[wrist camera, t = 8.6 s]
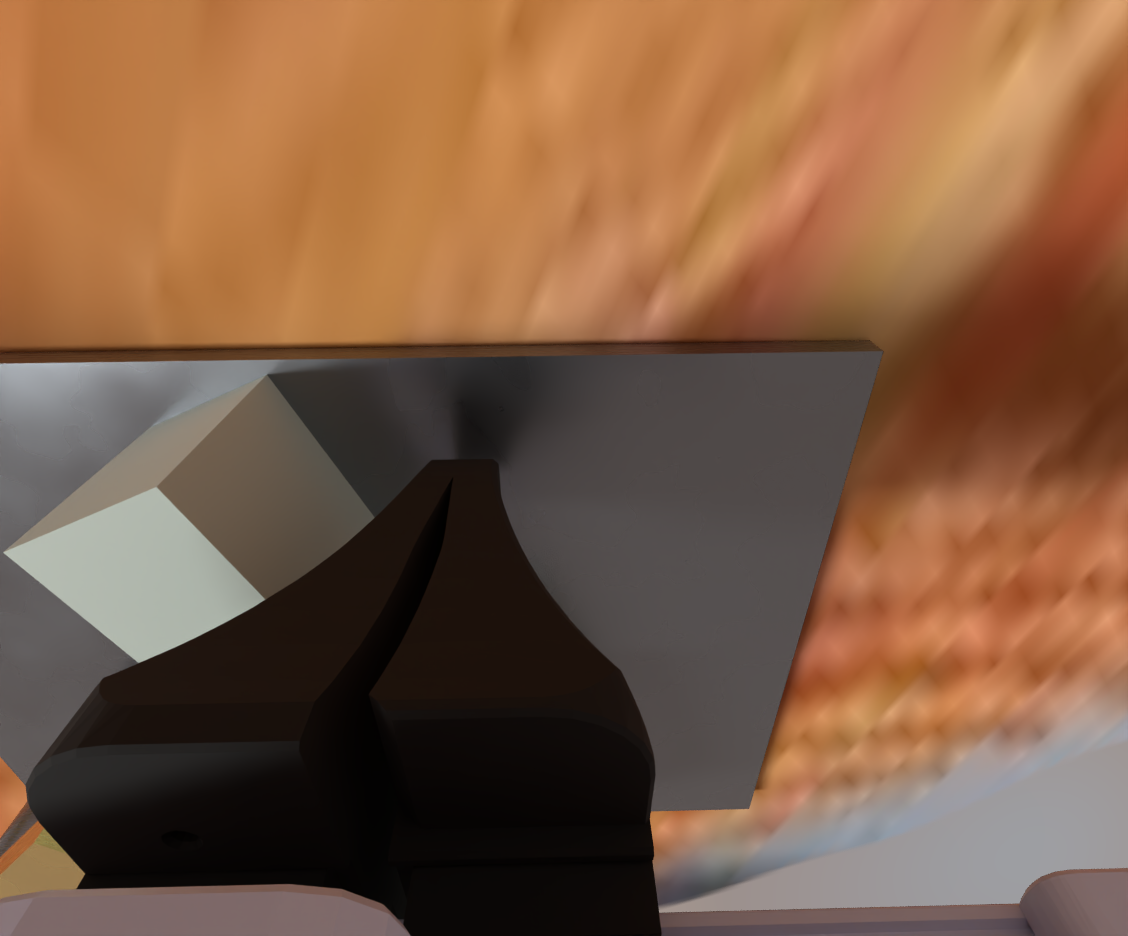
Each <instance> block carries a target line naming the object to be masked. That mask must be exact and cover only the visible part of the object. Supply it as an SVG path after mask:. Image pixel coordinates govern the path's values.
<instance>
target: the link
mask: <svg viewBox="0 0 1128 936" xmlns="http://www.w3.org/2000/svg"><path fill="white" fill-rule="evenodd" d="M374 518H375V517H374V516H373V515H372V513H371V512H370V511H369V509H368V508H367V507H366V505H365V504H364V503H363V501H362V500H361V499H360V497H359V496H358V495H357V493H356V492H355V491H354V489H353V488H352V487H351V485H350V484H349V483H348V481H347V480H346V479H345V477H344V476H343V475H342V473H341V472H340V471H339V470H338V468H337V467H336V466H335V464H334V463H333V462H332V460H331V459H330V458H329V456H328V455H327V454H326V452H325V451H324V450H323V448H322V447H321V446H320V444H319V443H318V442H317V440H316V439H315V438H314V436H313V435H312V434H311V432H310V431H309V430H308V428H307V427H306V426H305V424H304V423H303V422H302V420H301V419H300V418H299V416H298V415H297V414H296V413H295V411H294V410H293V409H292V407H291V406H290V405H289V403H288V402H287V401H286V399H285V398H284V397H283V395H282V394H281V393H280V391H279V390H278V389H277V387H276V386H275V385H274V383H273V382H272V381H271V379H270V378H269V377H268V375H265V376H263V377H261V378H258V379H256V380H254V381H252V382H250V383H247V384H245V385H243V386H241V387H239V388H236V389H234V390H232V391H230V392H227V393H225V394H223V395H221V396H219V397H216V398H214V399H212V400H210V401H208V402H205V403H203V404H201V405H199V406H197V407H194V408H192V409H190V410H188V411H186V412H183V413H181V414H179V415H177V416H175V417H172V418H170V419H168V420H166V421H163V422H161V423H159V424H157V425H155V426H152V427H150V428H149V429H148V430H146V431H145V432H144V433H143V434H142V435H141V436H139V437H138V438H137V439H136V440H135V441H133V442H132V443H131V444H130V445H129V446H128V447H126V448H125V449H124V450H123V451H122V452H121V453H119V454H118V455H117V456H116V457H115V458H113V459H112V460H111V461H110V462H109V463H108V464H106V465H105V466H104V467H103V468H102V469H101V470H99V471H98V472H97V473H96V474H95V475H93V476H92V477H91V478H90V479H89V480H88V481H86V482H85V483H84V484H83V485H82V486H81V487H79V488H78V489H77V490H76V491H75V492H73V493H72V494H71V495H70V496H69V497H68V498H66V499H65V500H64V501H63V502H62V503H61V504H59V505H58V506H57V507H56V508H55V509H53V510H52V511H51V512H50V513H49V514H48V515H46V516H45V517H44V518H43V519H42V520H41V521H39V522H38V523H37V524H36V525H35V526H33V527H32V528H31V529H30V530H29V531H28V532H26V533H25V534H24V535H23V536H22V537H21V538H19V539H18V540H17V541H16V542H15V543H13V544H12V545H11V546H10V547H9V548H8V549H6V550H5V551H4V552H3V553H4V554H6V555H7V556H8V557H9V558H10V559H12V560H13V561H14V562H15V563H17V564H18V565H19V566H20V567H21V568H23V569H24V570H25V571H26V572H28V573H29V574H30V575H31V576H33V577H34V578H35V579H36V580H37V581H39V582H40V583H41V584H42V585H44V586H45V587H46V588H47V589H48V590H50V591H51V592H52V593H53V594H55V595H56V596H57V597H58V598H60V599H61V600H62V601H63V602H64V603H66V604H67V605H68V606H69V607H71V608H72V609H73V610H74V611H75V612H77V613H78V614H79V615H80V616H82V617H83V618H84V619H85V620H87V621H88V622H89V623H90V624H91V625H93V626H94V627H95V628H96V629H98V630H99V631H100V632H101V633H102V634H104V635H105V636H106V637H107V638H109V639H110V640H111V641H112V642H114V643H115V644H116V645H117V646H118V647H120V648H121V649H122V650H123V651H125V652H126V653H127V654H128V655H129V656H131V657H132V658H133V659H134V660H136V661H137V662H138V663H140V662H142V661H145V660H147V659H149V658H152V657H154V656H156V655H159V654H161V653H163V652H165V651H168V650H170V649H172V648H175V647H177V646H179V645H181V644H183V643H185V642H187V641H189V640H192V639H194V638H196V637H198V636H200V635H202V634H204V633H206V632H208V631H210V630H212V629H214V628H216V627H217V626H219V625H221V624H223V623H225V622H227V621H229V620H231V619H233V618H234V617H236V616H238V615H240V614H242V613H244V612H245V611H247V610H249V609H251V608H252V607H254V606H256V605H257V604H259V603H261V602H262V601H264V600H265V599H267V598H269V597H270V596H272V595H274V594H275V593H277V592H278V591H280V590H282V589H283V588H285V587H286V586H288V585H290V584H291V583H293V582H294V581H296V580H298V579H299V578H301V577H302V576H303V575H305V574H306V573H308V572H309V571H310V570H312V569H313V568H315V567H316V566H317V565H319V564H320V563H321V562H323V561H324V560H326V559H327V558H328V557H330V556H331V555H332V554H333V553H335V552H336V551H337V550H339V549H340V548H341V547H342V546H343V545H345V544H346V543H347V542H348V541H349V540H350V539H352V538H353V537H354V536H355V535H356V534H357V533H358V532H359V531H361V530H362V529H363V528H364V527H365V526H366V525H367V524H368V523H370V522H371V521H372V520H373V519H374Z"/></svg>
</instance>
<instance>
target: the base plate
mask: <svg viewBox="0 0 1128 936" xmlns="http://www.w3.org/2000/svg"><path fill="white" fill-rule="evenodd" d="M882 354H883V350H881V349H880V348H879V347H877V346H876V345H875V344H874V343H872V342H871V341H870V340H869V341H798V342H726V343H654V344H582V345H510V346H438V347H366V348H294V349H222V350H150V351H78V352H6V353H0V757H1V758H2V759H3V760H4V761H5V763H6V764H7V765H8V766H9V767H10V768H11V769H12V771H13V772H14V773H15V774H16V775H17V776H18V777H19V779H20V780H21V781H22V782H23V783H24V784H25V785H26V782H27V780H28V778H29V776H30V774H31V772H32V770H33V769H34V767H35V766H36V765H37V763H38V762H39V761H40V759H41V758H42V757H43V756H44V754H45V753H46V752H47V750H48V749H49V748H50V746H51V745H52V744H53V742H54V741H55V740H56V738H57V737H58V736H59V734H60V733H61V732H62V731H63V729H64V728H65V727H66V725H67V724H68V723H69V721H70V720H71V719H72V717H73V716H74V715H75V713H76V712H77V711H78V709H79V708H80V707H81V706H82V704H83V703H84V702H85V700H86V699H87V698H88V696H89V695H90V694H91V692H92V691H93V690H94V688H95V687H96V686H97V685H98V684H99V682H100V681H101V680H102V679H103V678H104V677H107V676H109V675H112V674H114V673H117V672H119V671H122V670H124V669H126V668H129V667H131V666H133V665H136V664H138V662H137V661H136V660H134V659H133V658H132V657H131V656H129V655H128V654H127V653H126V652H125V651H123V650H122V649H121V648H120V647H118V646H117V645H116V644H115V643H114V642H112V641H111V640H110V639H109V638H107V637H106V636H105V635H104V634H102V633H101V632H100V631H99V630H98V629H96V628H95V627H94V626H93V625H91V624H90V623H89V622H88V621H87V620H85V619H84V618H83V617H82V616H80V615H79V614H78V613H77V612H75V611H74V610H73V609H72V608H71V607H69V606H68V605H67V604H66V603H64V602H63V601H62V600H61V599H60V598H58V597H57V596H56V595H55V594H53V593H52V592H51V591H50V590H48V589H47V588H46V587H45V586H44V585H42V584H41V583H40V582H39V581H37V580H36V579H35V578H34V577H33V576H31V575H30V574H29V573H28V572H26V571H25V570H24V569H23V568H21V567H20V566H19V565H18V564H17V563H15V562H14V561H13V560H12V559H10V558H9V557H8V556H7V555H6V554H4V553H3V552H4V551H5V550H6V549H8V548H9V547H10V546H11V545H12V544H13V543H15V542H16V541H17V540H18V539H19V538H21V537H22V536H23V535H24V534H25V533H26V532H28V531H29V530H30V529H31V528H32V527H33V526H35V525H36V524H37V523H38V522H39V521H41V520H42V519H43V518H44V517H45V516H46V515H48V514H49V513H50V512H51V511H52V510H53V509H55V508H56V507H57V506H58V505H59V504H61V503H62V502H63V501H64V500H65V499H66V498H68V497H69V496H70V495H71V494H72V493H73V492H75V491H76V490H77V489H78V488H79V487H81V486H82V485H83V484H84V483H85V482H86V481H88V480H89V479H90V478H91V477H92V476H93V475H95V474H96V473H97V472H98V471H99V470H101V469H102V468H103V467H104V466H105V465H106V464H108V463H109V462H110V461H111V460H112V459H113V458H115V457H116V456H117V455H118V454H119V453H121V452H122V451H123V450H124V449H125V448H126V447H128V446H129V445H130V444H131V443H132V442H133V441H135V440H136V439H137V438H138V437H139V436H141V435H142V434H143V433H144V432H145V431H146V430H148V429H149V428H150V427H152V426H155V425H157V424H159V423H161V422H163V421H166V420H168V419H170V418H172V417H175V416H177V415H179V414H181V413H183V412H186V411H188V410H190V409H192V408H194V407H197V406H199V405H201V404H203V403H205V402H208V401H210V400H212V399H214V398H216V397H219V396H221V395H223V394H225V393H227V392H230V391H232V390H234V389H236V388H239V387H241V386H243V385H245V384H247V383H250V382H252V381H254V380H256V379H258V378H261V377H263V376H265V375H268V377H269V378H270V379H271V381H272V382H273V383H274V385H275V386H276V387H277V389H278V390H279V391H280V393H281V394H282V395H283V397H284V398H285V399H286V401H287V402H288V403H289V405H290V406H291V407H292V409H293V410H294V411H295V413H296V414H297V415H298V416H299V418H300V419H301V420H302V422H303V423H304V424H305V426H306V427H307V428H308V430H309V431H310V432H311V434H312V435H313V436H314V438H315V439H316V440H317V442H318V443H319V444H320V446H321V447H322V448H323V450H324V451H325V452H326V454H327V455H328V456H329V458H330V459H331V460H332V462H333V463H334V464H335V466H336V467H337V468H338V470H339V471H340V472H341V473H342V475H343V476H344V477H345V479H346V480H347V481H348V483H349V484H350V485H351V487H352V488H353V489H354V491H355V492H356V493H357V495H358V496H359V497H360V499H361V500H362V501H363V503H364V504H365V505H366V507H367V508H368V509H369V511H370V512H371V513H372V515H373V516H374V517H376V516H377V515H378V514H379V513H380V512H381V511H382V510H383V509H384V508H385V507H386V506H387V505H388V504H389V503H390V502H391V501H392V500H393V499H394V498H395V497H396V496H397V495H398V494H399V493H400V492H401V491H402V490H403V489H404V488H405V487H406V485H407V484H408V483H409V482H410V481H411V480H412V479H413V478H414V477H415V476H416V475H417V474H418V473H419V472H420V471H421V470H422V469H423V468H424V467H425V466H426V465H427V464H428V463H429V462H430V461H431V460H449V459H494V460H495V461H496V462H497V463H498V464H499V473H500V486H501V497H502V501H503V504H504V507H505V510H506V512H507V515H508V518H509V521H510V523H511V526H512V528H513V531H514V533H515V535H516V537H517V539H518V541H519V543H520V546H521V547H522V549H523V551H524V553H525V555H526V557H527V559H528V561H529V562H530V564H531V566H532V567H533V569H534V571H535V572H536V574H537V576H538V577H539V579H540V580H541V582H542V583H543V585H544V586H545V588H546V589H547V591H548V592H549V593H550V595H551V596H552V597H553V599H554V600H555V601H556V602H557V604H558V605H559V606H560V607H561V609H562V610H563V611H564V612H565V614H566V615H567V616H568V617H569V619H570V620H571V621H572V622H573V624H574V625H575V626H576V627H577V628H578V629H579V630H580V631H581V632H582V633H583V634H584V635H585V637H586V638H587V639H588V640H589V641H590V642H591V643H592V644H593V645H594V646H595V647H596V648H597V649H598V650H599V651H600V652H601V653H602V654H603V655H604V656H606V657H607V658H608V659H609V660H610V661H611V662H612V663H613V664H614V665H615V666H617V667H618V668H619V669H620V670H621V671H622V674H623V676H624V678H625V680H626V682H627V684H628V686H629V688H630V690H631V692H632V695H633V697H634V699H635V701H636V704H637V706H638V708H639V711H640V713H641V716H642V718H643V721H644V724H645V726H646V729H647V732H648V736H649V739H650V742H651V746H652V750H653V754H654V759H655V772H656V776H655V783H654V791H653V798H652V806H651V811H680V810H721V809H749V807H750V803H751V800H752V797H753V793H754V790H755V786H756V783H757V780H758V776H759V773H760V769H761V766H762V763H763V759H764V756H765V752H766V749H767V746H768V742H769V739H770V735H771V732H772V728H773V725H774V722H775V718H776V715H777V711H778V708H779V705H780V701H781V698H782V694H783V691H784V688H785V684H786V681H787V677H788V674H789V671H790V667H791V664H792V660H793V657H794V654H795V650H796V647H797V643H798V640H799V637H800V633H801V630H802V626H803V623H804V620H805V616H806V613H807V609H808V606H809V603H810V599H811V596H812V592H813V589H814V586H815V582H816V579H817V575H818V572H819V569H820V565H821V562H822V558H823V555H824V551H825V548H826V545H827V541H828V538H829V534H830V531H831V528H832V524H833V521H834V517H835V514H836V511H837V507H838V504H839V500H840V497H841V494H842V490H843V487H844V483H845V480H846V477H847V473H848V470H849V466H850V463H851V460H852V456H853V453H854V449H855V446H856V443H857V439H858V436H859V432H860V429H861V426H862V422H863V419H864V415H865V412H866V409H867V405H868V402H869V398H870V395H871V392H872V388H873V385H874V381H875V378H876V374H877V371H878V368H879V364H880V361H881V357H882Z"/></svg>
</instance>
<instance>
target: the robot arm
mask: <svg viewBox="0 0 1128 936" xmlns="http://www.w3.org/2000/svg"><path fill="white" fill-rule="evenodd" d="M655 776H656V772H655V759H654V754H653V750H652V746H651V742H650V739H649V736H648V732H647V729H646V726H645V724H644V721H643V718H642V716H641V713H640V711H639V708H638V706H637V704H636V701H635V699H634V697H633V695H632V692H631V690H630V688H629V686H628V684H627V682H626V680H625V678H624V676H623V674H622V671H621V670H620V669H619V668H618V667H617V666H615V665H614V664H613V663H612V662H611V661H610V660H609V659H608V658H607V657H606V656H604V655H603V654H602V653H601V652H600V651H599V650H598V649H597V648H596V647H595V646H594V645H593V644H592V643H591V642H590V641H589V640H588V639H587V638H586V637H585V635H584V634H583V633H582V632H581V631H580V630H579V629H578V628H577V627H576V626H575V625H574V624H573V622H572V621H571V620H570V619H569V617H568V616H567V615H566V614H565V612H564V611H563V610H562V609H561V607H560V606H559V605H558V604H557V602H556V601H555V600H554V599H553V597H552V596H551V595H550V593H549V592H548V591H547V589H546V588H545V586H544V585H543V583H542V582H541V580H540V579H539V577H538V576H537V574H536V572H535V571H534V569H533V567H532V566H531V564H530V562H529V561H528V559H527V557H526V555H525V553H524V551H523V549H522V547H521V546H520V543H519V541H518V539H517V537H516V535H515V533H514V531H513V528H512V526H511V523H510V521H509V518H508V515H507V512H506V510H505V507H504V504H503V501H502V497H501V486H500V473H499V464H498V463H497V462H496V461H495V460H494V459H449V460H431V461H430V462H429V463H428V464H427V465H426V466H425V467H424V468H423V469H422V470H421V471H420V472H419V473H418V474H417V475H416V476H415V477H414V478H413V479H412V480H411V481H410V482H409V483H408V484H407V485H406V487H405V488H404V489H403V490H402V491H401V492H400V493H399V494H398V495H397V496H396V497H395V498H394V499H393V500H392V501H391V502H390V503H389V504H388V505H387V506H386V507H385V508H384V509H383V510H382V511H381V512H380V513H379V514H378V515H377V516H376V517H375V518H374V519H373V520H372V521H371V522H370V523H368V524H367V525H366V526H365V527H364V528H363V529H362V530H361V531H359V532H358V533H357V534H356V535H355V536H354V537H353V538H352V539H350V540H349V541H348V542H347V543H346V544H345V545H343V546H342V547H341V548H340V549H339V550H337V551H336V552H335V553H333V554H332V555H331V556H330V557H328V558H327V559H326V560H324V561H323V562H321V563H320V564H319V565H317V566H316V567H315V568H313V569H312V570H310V571H309V572H308V573H306V574H305V575H303V576H302V577H301V578H299V579H298V580H296V581H294V582H293V583H291V584H290V585H288V586H286V587H285V588H283V589H282V590H280V591H278V592H277V593H275V594H274V595H272V596H270V597H269V598H267V599H265V600H264V601H262V602H261V603H259V604H257V605H256V606H254V607H252V608H251V609H249V610H247V611H245V612H244V613H242V614H240V615H238V616H236V617H234V618H233V619H231V620H229V621H227V622H225V623H223V624H221V625H219V626H217V627H216V628H214V629H212V630H210V631H208V632H206V633H204V634H202V635H200V636H198V637H196V638H194V639H192V640H189V641H187V642H185V643H183V644H181V645H179V646H177V647H175V648H172V649H170V650H168V651H165V652H163V653H161V654H159V655H156V656H154V657H152V658H149V659H147V660H145V661H142V662H140V663H138V664H136V665H133V666H131V667H129V668H126V669H124V670H122V671H119V672H117V673H114V674H112V675H109V676H107V677H104V678H103V679H102V680H101V681H100V682H99V684H98V685H97V686H96V687H95V688H94V690H93V691H92V692H91V694H90V695H89V696H88V698H87V699H86V700H85V702H84V703H83V704H82V706H81V707H80V708H79V709H78V711H77V712H76V713H75V715H74V716H73V717H72V719H71V720H70V721H69V723H68V724H67V725H66V727H65V728H64V729H63V731H62V732H61V733H60V734H59V736H58V737H57V738H56V740H55V741H54V742H53V744H52V745H51V746H50V748H49V749H48V750H47V752H46V753H45V754H44V756H43V757H42V758H41V759H40V761H39V762H38V763H37V765H36V766H35V767H34V769H33V770H32V772H31V774H30V776H29V778H28V780H27V782H26V792H27V801H28V804H29V807H30V809H31V810H32V812H33V814H34V815H35V817H36V818H37V820H38V821H39V823H40V824H41V825H42V826H43V828H44V829H45V830H46V831H47V832H48V833H49V834H50V835H51V836H52V838H53V839H54V840H55V841H56V842H57V843H58V844H59V845H60V846H61V848H62V849H63V850H64V851H65V852H66V853H67V854H68V855H69V857H70V858H71V859H72V860H73V861H74V862H75V863H76V864H77V865H78V867H79V868H80V869H81V870H82V871H83V872H84V873H85V875H84V877H83V878H82V880H81V882H80V883H79V885H78V887H77V888H76V889H73V890H45V891H39V892H33V893H28V894H22V895H16V896H10V897H4V898H2V899H0V936H1128V868H1120V869H1080V870H1064V871H1057V872H1053V873H1050V874H1048V875H1045V876H1042V877H1040V878H1039V879H1038V880H1036V881H1034V882H1033V883H1032V884H1031V885H1030V886H1029V887H1028V888H1027V890H1026V891H1025V893H1024V895H1023V896H1022V898H1021V901H1020V904H987V905H950V906H908V907H870V908H830V909H792V910H754V911H753V910H752V911H716V912H715V911H713V912H675V913H659V908H658V901H657V893H656V886H655V878H654V871H653V863H652V860H653V857H654V846H653V839H652V832H651V825H650V813H651V806H652V798H653V791H654V783H655Z"/></svg>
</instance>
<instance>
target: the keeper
mask: <svg viewBox="0 0 1128 936" xmlns="http://www.w3.org/2000/svg"><path fill="white" fill-rule="evenodd" d="M84 875H85V873H84V872H83V871H82V870H81V869H80V868H79V867H78V865H77V864H76V863H75V862H74V861H73V860H72V859H71V858H70V857H69V855H68V854H67V853H66V852H65V851H64V850H63V849H62V848H61V846H60V845H59V844H58V843H57V842H56V841H55V840H54V839H53V838H52V836H51V835H50V834H49V833H48V832H47V831H46V830H45V829H44V828H43V826H42V825H41V824H40V823H39V821H38V820H37V818H36V817H35V815H34V814H33V812H32V810H31V809H30V807H29V804H28V801H27V803H26V804H25V805H24V807H23V808H22V810H21V811H20V812H19V814H18V815H17V816H16V818H15V819H14V820H13V822H12V823H11V825H10V826H9V827H8V829H7V830H6V831H5V833H4V834H3V835H2V837H1V838H0V899H2V898H4V897H10V896H16V895H22V894H28V893H33V892H39V891H45V890H73V889H76V888H77V887H78V885H79V883H80V882H81V880H82V878H83V877H84Z"/></svg>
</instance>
